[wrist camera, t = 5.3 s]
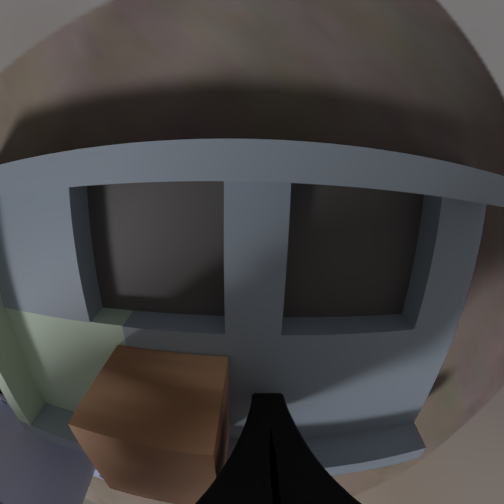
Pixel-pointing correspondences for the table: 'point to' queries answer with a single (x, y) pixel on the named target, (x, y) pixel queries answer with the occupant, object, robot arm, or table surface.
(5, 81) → the table surface
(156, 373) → the block
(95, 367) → the tray
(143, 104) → the table surface
